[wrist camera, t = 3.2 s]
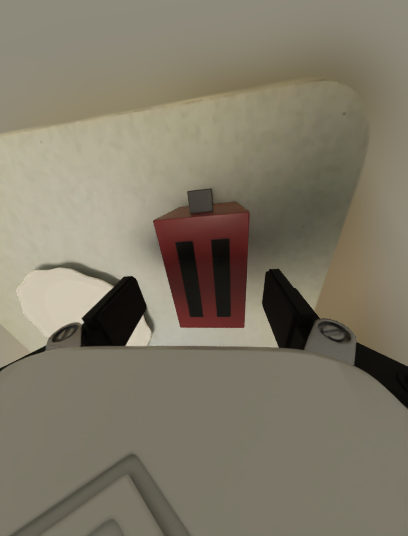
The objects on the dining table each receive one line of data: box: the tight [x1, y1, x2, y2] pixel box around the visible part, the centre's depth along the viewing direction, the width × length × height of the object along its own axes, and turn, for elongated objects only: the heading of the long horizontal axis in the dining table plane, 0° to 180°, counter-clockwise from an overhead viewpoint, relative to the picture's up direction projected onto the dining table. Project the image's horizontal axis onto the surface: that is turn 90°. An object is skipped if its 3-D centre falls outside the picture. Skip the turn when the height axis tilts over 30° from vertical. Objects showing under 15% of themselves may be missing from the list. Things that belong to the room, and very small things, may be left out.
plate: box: [16, 267, 152, 346], centre depth 24 cm, size 21×21×2 cm
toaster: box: [153, 189, 250, 328], centre depth 14 cm, size 6×11×7 cm, turn 6°
